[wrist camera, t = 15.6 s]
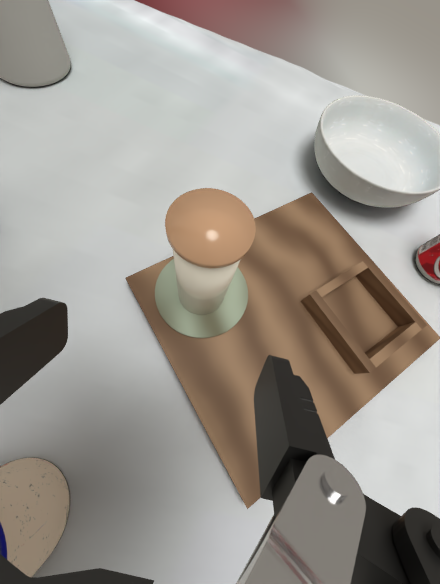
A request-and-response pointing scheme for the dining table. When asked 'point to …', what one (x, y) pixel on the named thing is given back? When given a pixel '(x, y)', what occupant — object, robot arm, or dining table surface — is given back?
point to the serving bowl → (377, 152)
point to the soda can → (430, 259)
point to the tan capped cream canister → (207, 245)
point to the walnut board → (285, 330)
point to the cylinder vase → (31, 44)
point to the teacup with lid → (31, 512)
